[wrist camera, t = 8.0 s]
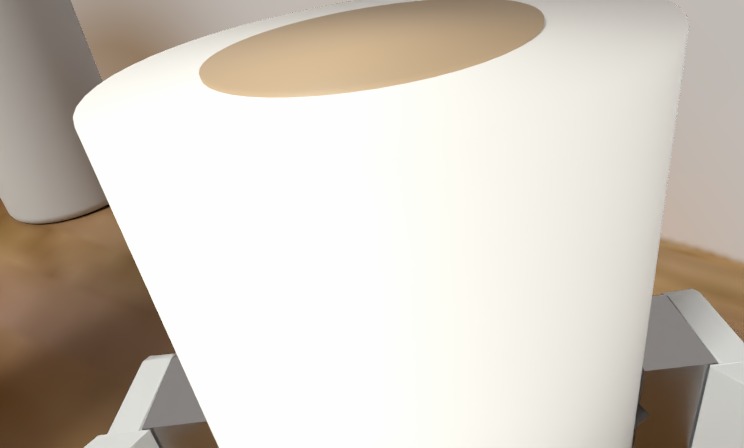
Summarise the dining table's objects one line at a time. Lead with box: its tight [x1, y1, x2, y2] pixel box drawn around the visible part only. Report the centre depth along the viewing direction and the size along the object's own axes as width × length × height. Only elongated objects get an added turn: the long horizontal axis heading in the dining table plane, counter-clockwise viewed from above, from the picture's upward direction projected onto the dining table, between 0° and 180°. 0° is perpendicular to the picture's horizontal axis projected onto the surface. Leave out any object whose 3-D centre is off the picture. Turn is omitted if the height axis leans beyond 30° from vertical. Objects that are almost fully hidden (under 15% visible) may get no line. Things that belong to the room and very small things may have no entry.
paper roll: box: [73, 0, 689, 448], centre depth 9 cm, size 6×6×13 cm
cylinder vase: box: [0, 0, 109, 224], centre depth 50 cm, size 12×12×25 cm
